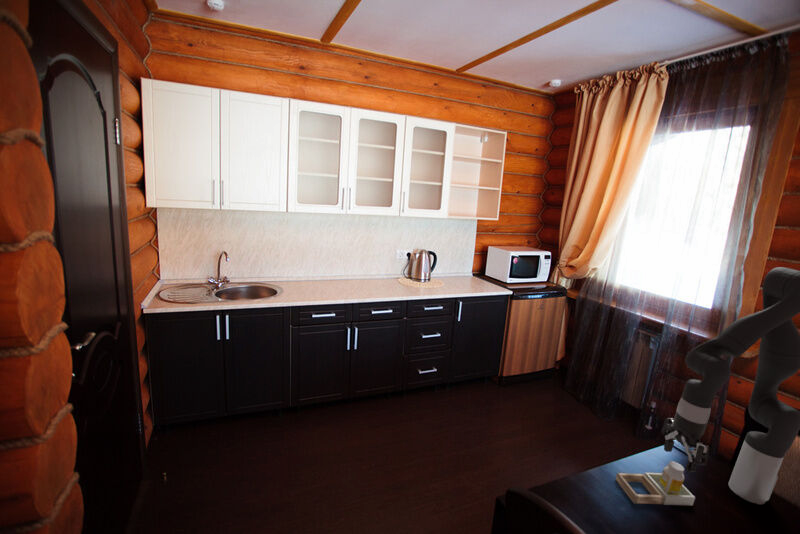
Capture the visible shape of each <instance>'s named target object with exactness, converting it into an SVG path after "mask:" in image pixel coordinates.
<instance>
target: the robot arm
mask: <svg viewBox="0 0 800 534" xmlns="http://www.w3.org/2000/svg"><path fill="white" fill-rule="evenodd" d="M799 314H800V270H798V269H793V268H789V267H784V266H782V267H781V266H780V267H774V268H772V269H771V270H770V271H769V272H767V274H765V278H764V280H763V283H762V310H760V311H756V312H754V313H751V314H748V315H745V316H742V317H741V318H738V319H736V320H735V321H733V322H732V323H730V324H729V325H728V326H727V327H725V328H724V329H723V330H722V331H721V332H720V333H719V334H718V335H717V336H716V337H714V338H712V339H709V340H707V341H705V342H703V343H701V344H699V345H697V346H696V347H693V348H692V349H691V350H690V351H689V352H688V353H687V354H686V357H685V365H686V366H687V368H689V369H690V370H691V371H693V372H694V373H696V374H698V375H700V376H701V377H702V380H700V379H694V378H692V379H691V378H690V379H688V380H687V381H686V382H685V385H684V387H683V391H682V395H681V397H680V399H679V401H678V404H677V407H676V411H675V415H674V417H666V418H665V420H664V423H663V426H662V429H661V431H660V432H661V434H662V435H664V438H665V441H664V445H663V450H664V451H665V452H669V453H671V452H672V451H673V448H674V445H675V441H676V442H677V443H679V444H680V445H681V446H682V447H683V448H684V451H685V453H686V454H687V458H688V460H687V463H686V466H685V468H684V471H686V472H687V473H694V472H696V469H697V467H698V466H706V464H707V460H708V457H709V453H710V446H709V445H704V444H703V443H702V442H701V437H702V436H703V435H704V434H705V431H706V428H707V425H708V421H709V418H710V416H711V409H712V405H713V402H714V398H715V395H716V394H717V393H718V392H719V390H720V389H721V388H722V387H723V385H724V384H725V383H726V382H727V381H728V379H729V378H730V376H731V371H732V370H731V366H730V364H729V362H728V361H727V360H726V359H724V358H722V356H729V357H734V358H738V357H740V356H742V355H744V353H746V352H747V351H748V350H749V349H750V348H752V347H753V346H754V345H755V344H756V343H757V342H758V341H759V340H760V342H759V349H758V360H757V361H758V362H757V369H756V374H755V380H754V385H753V388H752V392H751V396H750V398H749V404H748V413H749V414H748V415H750V417H751V419H752V420H754V421H755V422H757V423H758V424H760V425H761V426H763V427H765V428H766V429H768V431H767V433H765V432H762V431H756V430H754V431H753V430H751V431H748V432H747V433H746V436H745V438H744V440H743V443H742V446H741V449H740V451H739V454H738V457H737V459H736V461H735V465H734V467H733V469H732V472H731V475H730V477H729V478H730V479H729V481H728V482H727V483H728V485H727V486H729V488H730V490H731V491H732V492H733V493H734V494H736V495H737V496H738V497H740V498H741V499H743V500H746V501H747V502H750V503H753V504H755V503H756V505H764V504H766V502H769V500H770V498H771V495H772V493H773V491H774V488H775V485H776V484H777V481H778V478H779V476H778V473H779V470H780V468H781V466H782V463H783V460H784V458H785V455H786V453H787V452H789V450H790V449H791V447H792V446H793V444H794V441H795V440H796V438H797V436H798V434H799V431H800V411H799V410H798V409H795V408H794V407H793V406H791V405H789V404H787V403H785V402H783V401H781V400H780V399H779V398H778V390H779V386H780V385H781V384H782V383H783V382H784V381H786V380H788V379H790V378H791V377H793V375H795V374H797V373H798V372H799V371H800V332H799V330H798V328H797V326H796V325H795V323H794V321H793V319H792V318H794V317H795V316H797V315H799ZM692 448H693V449H692ZM691 449H692V450H691Z"/></svg>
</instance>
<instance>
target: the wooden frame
mask: <svg viewBox="0 0 800 534" xmlns="http://www.w3.org/2000/svg"><path fill="white" fill-rule="evenodd" d="M644 474H645V473H631V472H630V473H629V472H626V473H624V472H617V473H616V476H615V481H616V482H617V483H618V485H619V486H620V487H621V488H622V490H623V491H624V492H625V493H626V495H627V496H628V497H629V498H630V500H631V501H632V503H633V504H648V505H663V500H664V496H663V495H662V494H661V493H660V492H659V491H658V490H657V488H656V487H655V486H654V485H653V484H652V483H651V482H650V481H649V479H648V478H647V477H646V476H645V475H644ZM629 483H641V485H643V486H644V488H645V489H646V490H647V491H648V492H649V494H640V493H639V494H638V493H636V491H635V490H634V489H633V488H632V486H631V485H630V484H629Z"/></svg>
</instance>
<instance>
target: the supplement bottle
mask: <svg viewBox="0 0 800 534" xmlns="http://www.w3.org/2000/svg"><path fill="white" fill-rule="evenodd" d="M661 473H662V475H661V478H660V481H659V484H658V485H659V486H660V487H661V488H662V490H663V491H664V492H665V493H666V494H667V495H679V492H680V490H681V487H682V484H683V483H684V481H685V475H684V473H685V468H684V466H683V465H682V464H680V463H678V462H677V461H673V460H672V461H668V464H667V466H665V467H664V468H663V471H662V472H661ZM683 485H684V484H683Z"/></svg>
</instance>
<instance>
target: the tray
mask: <svg viewBox="0 0 800 534" xmlns="http://www.w3.org/2000/svg"><path fill="white" fill-rule="evenodd" d="M662 473H663V472H644V473H643V474H644V475H645V476H646V477H647V478H648V479H649V481H650V482H651V483H652V484H653V485H654V486H655V487H656V488H657V490H658V491H659V492H660V493H661V494H662V495H663V496H664V500H663V503H662V505H665V506H670V505H671V506H693V505H694V502H695V500H696V496H695V495H693V494H692V492H690V490H689V489H688V488H687V487H686V486H685V485H684V484H682V487H681V490H680V492H679V495H667V494H666V493H665V492H664V491H663V490H662V488H661V487H660V486H659V485H658V484H659V481H660V478H661V475H662Z"/></svg>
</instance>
